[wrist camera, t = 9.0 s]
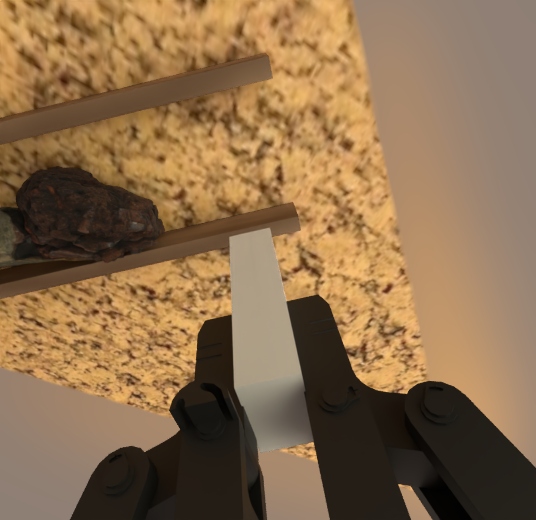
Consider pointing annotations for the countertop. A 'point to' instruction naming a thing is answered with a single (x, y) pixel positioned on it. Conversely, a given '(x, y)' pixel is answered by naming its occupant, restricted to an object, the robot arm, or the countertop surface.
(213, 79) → the channel rails
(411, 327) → the countertop surface
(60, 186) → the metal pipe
